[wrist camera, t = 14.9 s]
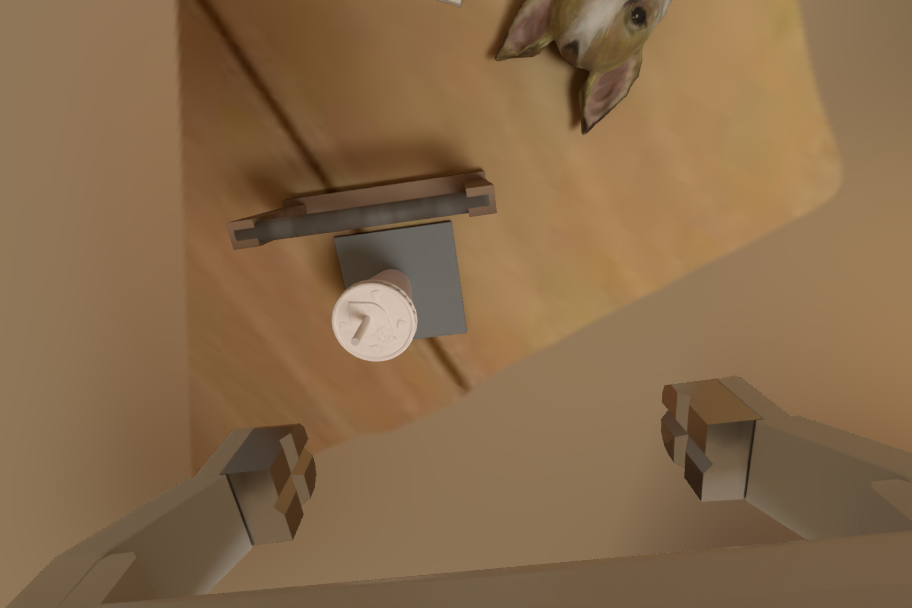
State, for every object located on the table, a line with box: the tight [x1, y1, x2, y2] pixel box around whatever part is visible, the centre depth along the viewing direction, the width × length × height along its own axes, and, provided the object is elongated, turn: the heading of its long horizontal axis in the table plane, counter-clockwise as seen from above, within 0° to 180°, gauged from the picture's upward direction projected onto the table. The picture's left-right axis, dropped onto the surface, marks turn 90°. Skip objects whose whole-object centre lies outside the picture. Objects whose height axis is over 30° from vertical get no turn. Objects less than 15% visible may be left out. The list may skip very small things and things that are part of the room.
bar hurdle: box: [226, 171, 497, 250], centre depth 34 cm, size 3×18×12 cm, turn 98°
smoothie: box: [332, 269, 418, 361], centre depth 35 cm, size 6×6×14 cm
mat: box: [334, 221, 467, 339], centre depth 42 cm, size 11×11×1 cm
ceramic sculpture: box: [495, 0, 671, 135], centre depth 31 cm, size 11×9×15 cm
